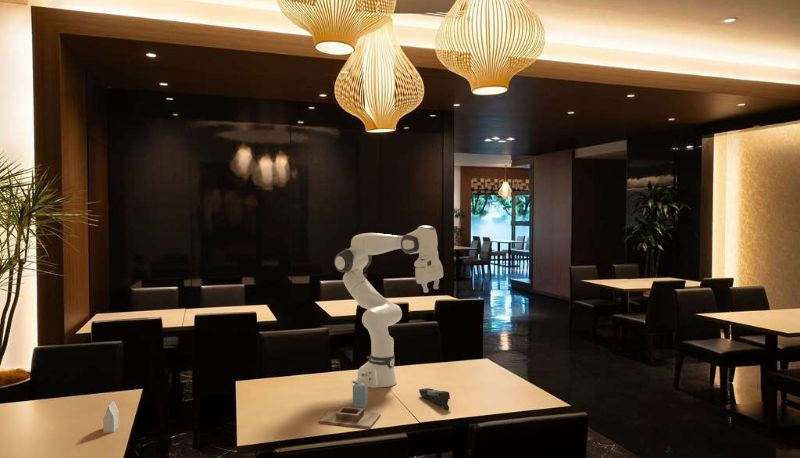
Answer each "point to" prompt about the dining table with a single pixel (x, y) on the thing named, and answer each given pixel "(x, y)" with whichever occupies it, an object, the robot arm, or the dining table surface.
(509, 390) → the dining table surface
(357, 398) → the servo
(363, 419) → the walnut board
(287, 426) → the dining table surface
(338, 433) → the dining table surface
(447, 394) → the gun
